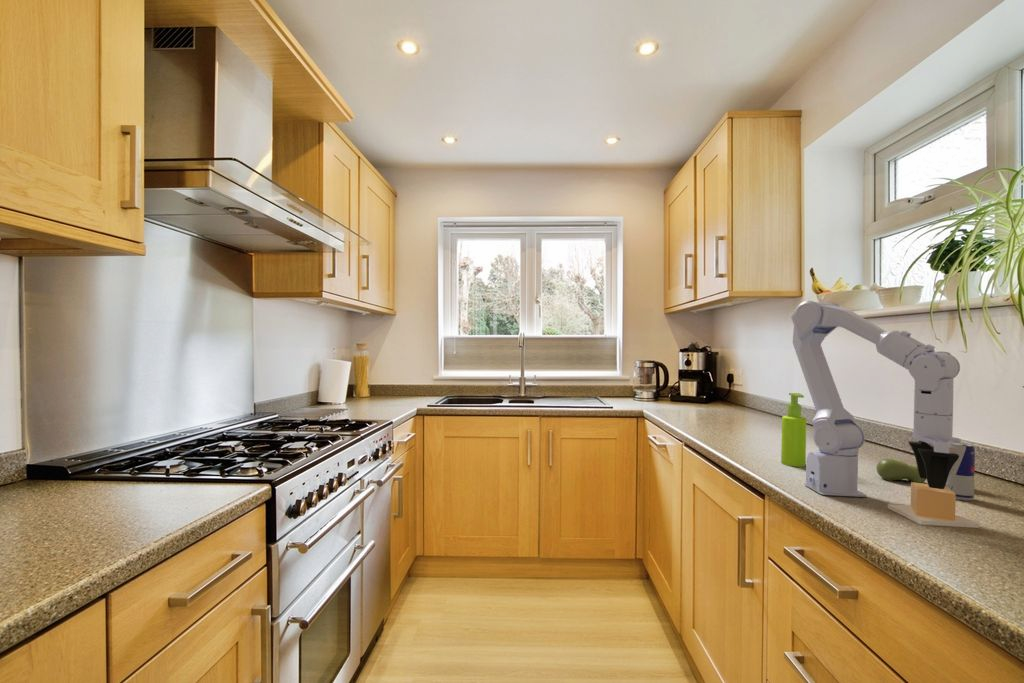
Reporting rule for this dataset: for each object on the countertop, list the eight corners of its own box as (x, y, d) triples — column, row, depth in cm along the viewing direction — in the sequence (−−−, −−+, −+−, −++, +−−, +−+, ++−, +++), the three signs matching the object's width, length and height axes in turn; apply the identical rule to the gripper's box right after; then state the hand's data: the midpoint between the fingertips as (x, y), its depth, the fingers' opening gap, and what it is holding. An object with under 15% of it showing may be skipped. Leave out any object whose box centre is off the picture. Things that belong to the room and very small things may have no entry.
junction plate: (920, 524, 89) (921, 501, 89) (888, 508, 98) (888, 487, 98) (979, 527, 88) (979, 504, 88) (940, 510, 97) (941, 489, 97)
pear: (875, 454, 124) (922, 464, 120) (871, 474, 124) (917, 485, 120) (884, 459, 118) (933, 470, 115) (879, 479, 118) (928, 491, 115)
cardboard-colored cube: (916, 514, 92) (916, 488, 92) (910, 506, 97) (910, 482, 97) (955, 520, 89) (955, 494, 89) (947, 512, 94) (947, 486, 94)
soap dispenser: (787, 467, 131) (788, 394, 131) (777, 461, 138) (779, 391, 138) (811, 468, 130) (812, 394, 130) (800, 462, 137) (801, 392, 137)
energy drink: (980, 502, 103) (981, 446, 103) (951, 500, 104) (952, 445, 104) (962, 494, 109) (963, 441, 109) (935, 492, 110) (936, 440, 110)
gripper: (972, 420, 85) (970, 496, 85) (950, 411, 97) (948, 477, 97) (920, 416, 89) (919, 489, 89) (905, 408, 101) (904, 472, 101)
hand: (931, 483), depth 93 cm, fingers open, 7 cm apart
